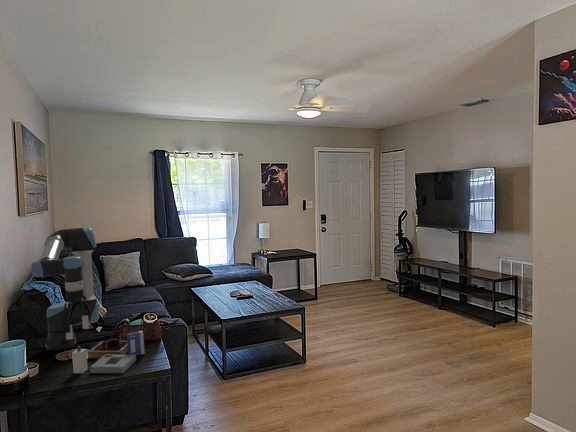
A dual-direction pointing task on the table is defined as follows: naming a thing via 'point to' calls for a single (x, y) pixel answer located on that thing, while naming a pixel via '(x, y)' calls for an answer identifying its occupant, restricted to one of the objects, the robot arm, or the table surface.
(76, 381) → the table surface
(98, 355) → the mug frame
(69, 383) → the table surface
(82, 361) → the plug
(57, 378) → the table surface
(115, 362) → the socket plate
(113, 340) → the pottery mug
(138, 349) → the walkman
